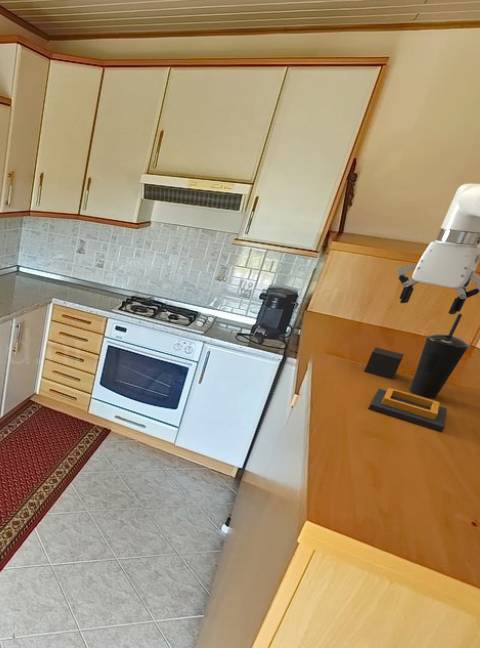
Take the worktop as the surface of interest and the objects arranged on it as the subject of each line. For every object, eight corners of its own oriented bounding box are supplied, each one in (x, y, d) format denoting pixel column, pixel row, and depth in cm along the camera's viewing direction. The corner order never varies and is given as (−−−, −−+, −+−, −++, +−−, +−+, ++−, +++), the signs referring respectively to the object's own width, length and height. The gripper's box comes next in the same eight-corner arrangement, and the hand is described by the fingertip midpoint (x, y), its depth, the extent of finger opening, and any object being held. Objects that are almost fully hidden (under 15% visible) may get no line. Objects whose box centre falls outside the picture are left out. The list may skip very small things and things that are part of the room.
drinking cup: (450, 404, 112) (491, 321, 105) (410, 396, 115) (448, 315, 108) (434, 391, 119) (472, 313, 112) (396, 384, 122) (431, 307, 114)
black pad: (392, 379, 125) (401, 359, 123) (364, 371, 129) (372, 351, 127) (395, 373, 129) (404, 354, 127) (367, 366, 133) (375, 347, 131)
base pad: (441, 432, 97) (447, 420, 96) (368, 408, 105) (373, 397, 104) (444, 413, 107) (449, 402, 106) (376, 393, 115) (381, 382, 114)
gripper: (512, 245, 111) (478, 317, 117) (418, 233, 124) (391, 298, 130) (503, 245, 107) (467, 319, 113) (407, 232, 121) (380, 299, 127)
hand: (427, 308), depth 122 cm, fingers open, 9 cm apart
